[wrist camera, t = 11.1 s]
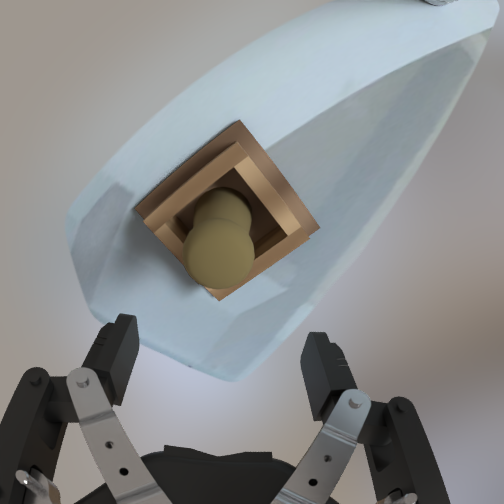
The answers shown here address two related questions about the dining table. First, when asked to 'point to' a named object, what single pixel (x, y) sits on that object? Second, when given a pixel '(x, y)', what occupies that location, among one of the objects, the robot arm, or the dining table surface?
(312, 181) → the dining table surface
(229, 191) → the cork
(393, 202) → the dining table surface
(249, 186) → the shaker caddy
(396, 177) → the dining table surface
